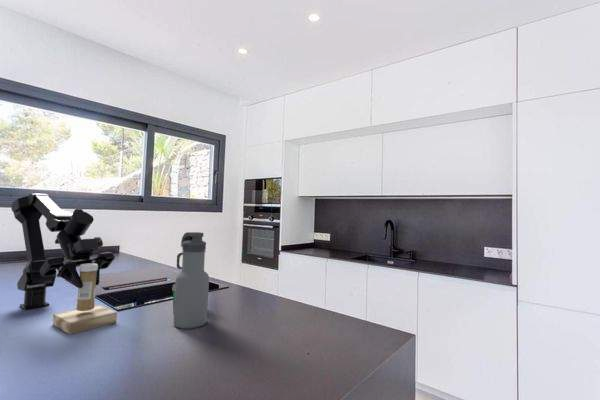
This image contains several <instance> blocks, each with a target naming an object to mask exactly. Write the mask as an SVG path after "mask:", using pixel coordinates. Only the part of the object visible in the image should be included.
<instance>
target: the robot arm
mask: <svg viewBox="0 0 600 400" xmlns="http://www.w3.org/2000/svg"><path fill="white" fill-rule="evenodd" d="M11 212H13V217H14V218H15V220H17V221H18V222H19V223H20V224H21V226H22V227H21V228H22V233H23V239H24V245H25V252H26V258H27V263H26V264H25V266H24V268H23V270H22V275H21V276H20V278H19V279H18V281H17V283H16V285H17V286H16V287H17V290H19V291H23V292H24V294H23V295H24V297H23V303H20V304H19V307H21V308H23V309H24V310H30V309H35V308H41V307H46V306H49V305H50V303H49V302H46V301H47V300H46V298H47V288H50V287H54V284H55V281H56V277H57V278H61V279H64V280H66V281H68V282H69V283H71V284H72V285H74V286H75V287H77V288H78V287H79V288H82V287H83V285H82V281H81V279H80V274H79V273H78V271H77V268H80V265H81V264H87V263H95V264H98V270H97V273H96V286H99V284H100V274H101V272H100V271H101V270H105V269H108V268H109V267H110V265H111V264H112V263H113V262H114V260H115V259H116V257H115V255H114V253H113V252H110V251H109V252H108V251H107V252H100V253H98V255H97V256H96V257H93V255H94V251H95V250H98V249H100V248H101V247H103V246H104V243H103V239H102V238H101V236H98V237H96V236H95V237H94V238H82V237H81V236H83V235H85V234H86V233H87V231H88V230H89V228H90V226H91V225H92V224H93V222H94V217H93V215H91V214H90V213H89V212H86V211H84V209H82V208H75V209H74V210H73V213H72V212H70V211H66V210H62V209H61V208H60V207H59V206H58V205H57V204H56V203H55V202H54V201H53V200H52V199H51V197H50V195H49V194H47V193H30V194H28V195H26V196H23V197H18V198H17V199H16V200H14V201H13V202H12V204H11ZM42 216H43V217H44V218H45V219H46V220H45V226H46V228H47V230H49V232H51V233H57V232H58V233H57V235H56V237H55V241H54V244H55V245H59V246H60V249H61V254H60V256H58V257H57V256H55V257H54V256H53V257H48V258H47V257H46V254H45V253H46V252H45V248H44V241H43V236H42V229H41V223H40V220H41V218H42ZM57 271H58V273H57Z"/></svg>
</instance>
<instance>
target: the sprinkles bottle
mask: <svg viewBox="0 0 600 400" xmlns="http://www.w3.org/2000/svg"><path fill="white" fill-rule="evenodd" d="M78 270H79V277H80V279H81V281H82V285H83V287H82V288H79V287H77V288H78V289H77V301H76V302H77V304H76V308H75V310H78V311H88V310H92V309H93V308H94V306H95V299H96V286H97V285H96V273H97V270H98V264H95V263H87V264H81V265H80V267H79V269H78Z"/></svg>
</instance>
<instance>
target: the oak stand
mask: <svg viewBox="0 0 600 400" xmlns="http://www.w3.org/2000/svg"><path fill="white" fill-rule="evenodd" d="M117 313H118V312H117V311H115V310H112V309H109V308H106V307H104V306H102V305H99V304H96V305H95V304H94V308H93V309H92V310H88V311H78V310H76V309H72V310H67V311H62V312H58V313H53V315H52V316H53V317H52V325H53V326H55V327H56V328H58V329H60V330H62V331H63V332H65V333H67V334H69V335H74V334H77V333H81V332H85V331H88V330H92V329H96V328H100V327H103V326H108V325H111V324H114V323H117V320H118V319H117V318H118V316H117V315H118V314H117Z"/></svg>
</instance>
